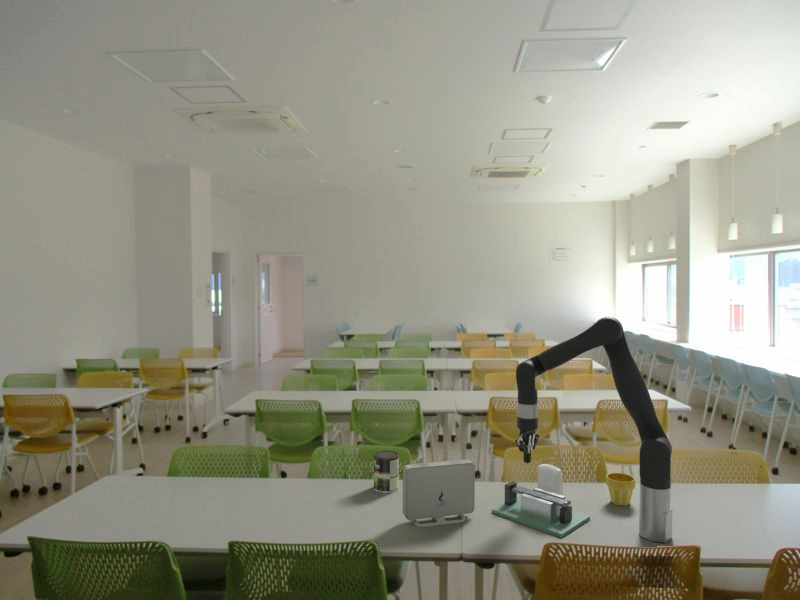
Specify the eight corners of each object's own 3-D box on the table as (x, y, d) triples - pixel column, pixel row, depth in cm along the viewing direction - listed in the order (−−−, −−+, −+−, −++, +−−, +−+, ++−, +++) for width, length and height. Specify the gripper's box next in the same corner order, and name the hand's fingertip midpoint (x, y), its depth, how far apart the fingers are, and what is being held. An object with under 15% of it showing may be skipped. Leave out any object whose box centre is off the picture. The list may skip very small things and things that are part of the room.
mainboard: (589, 519, 198) (590, 516, 197) (561, 537, 183) (561, 534, 183) (521, 497, 217) (521, 494, 217) (491, 512, 203) (491, 509, 203)
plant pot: (607, 506, 209) (607, 480, 209) (604, 495, 219) (604, 471, 219) (637, 509, 207) (637, 483, 207) (632, 498, 217) (632, 473, 217)
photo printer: (535, 493, 221) (535, 463, 221) (542, 491, 224) (542, 460, 224) (557, 501, 213) (558, 469, 213) (564, 499, 216) (564, 467, 216)
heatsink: (575, 517, 196) (575, 497, 196) (561, 526, 189) (561, 505, 189) (515, 498, 213) (515, 479, 213) (500, 505, 206) (500, 486, 206)
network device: (407, 528, 190) (407, 470, 189) (400, 518, 198) (400, 462, 197) (476, 520, 196) (477, 464, 196) (467, 510, 205) (467, 456, 204)
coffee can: (377, 494, 220) (377, 459, 219) (370, 485, 230) (370, 451, 229) (402, 491, 223) (402, 456, 222) (394, 482, 233) (394, 449, 232)
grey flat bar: (570, 505, 194) (571, 501, 194) (564, 508, 191) (564, 504, 191) (518, 488, 209) (518, 485, 209) (512, 492, 206) (512, 488, 206)
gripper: (526, 420, 196) (526, 469, 196) (546, 413, 205) (545, 460, 206) (508, 416, 201) (508, 464, 201) (528, 410, 210) (528, 456, 211)
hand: (527, 462), depth 203 cm, fingers closed
